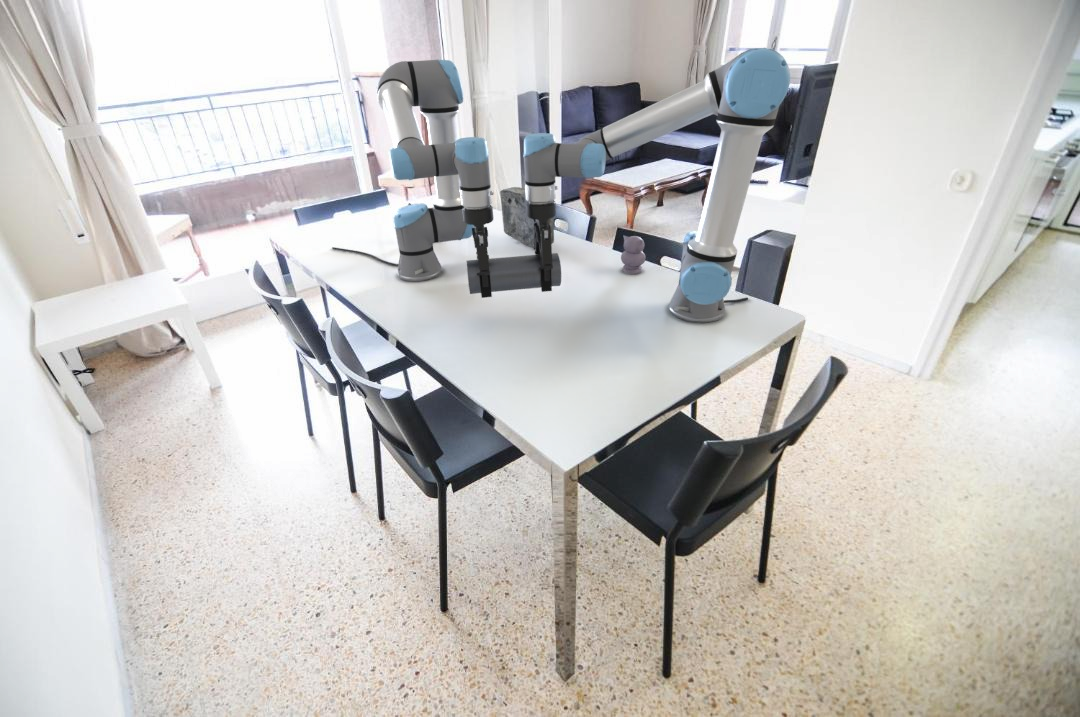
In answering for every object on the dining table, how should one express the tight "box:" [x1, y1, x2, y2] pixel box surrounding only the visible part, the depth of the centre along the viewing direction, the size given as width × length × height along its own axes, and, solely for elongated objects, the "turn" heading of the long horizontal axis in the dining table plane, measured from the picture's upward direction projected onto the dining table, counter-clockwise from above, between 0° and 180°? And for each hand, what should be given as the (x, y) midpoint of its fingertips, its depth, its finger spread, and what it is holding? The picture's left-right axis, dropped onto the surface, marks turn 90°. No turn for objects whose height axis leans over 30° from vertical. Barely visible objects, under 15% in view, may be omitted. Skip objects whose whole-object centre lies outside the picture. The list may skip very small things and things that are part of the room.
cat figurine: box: [620, 234, 646, 275], centre depth 168 cm, size 9×8×12 cm
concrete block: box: [499, 186, 555, 248], centre depth 194 cm, size 27×9×20 cm, turn 36°
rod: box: [465, 252, 562, 295], centre depth 134 cm, size 24×9×9 cm, turn 99°
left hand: (485, 289), depth 135 cm, fingers closed on rod, 9 cm apart
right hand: (543, 283), depth 137 cm, fingers closed on rod, 9 cm apart
